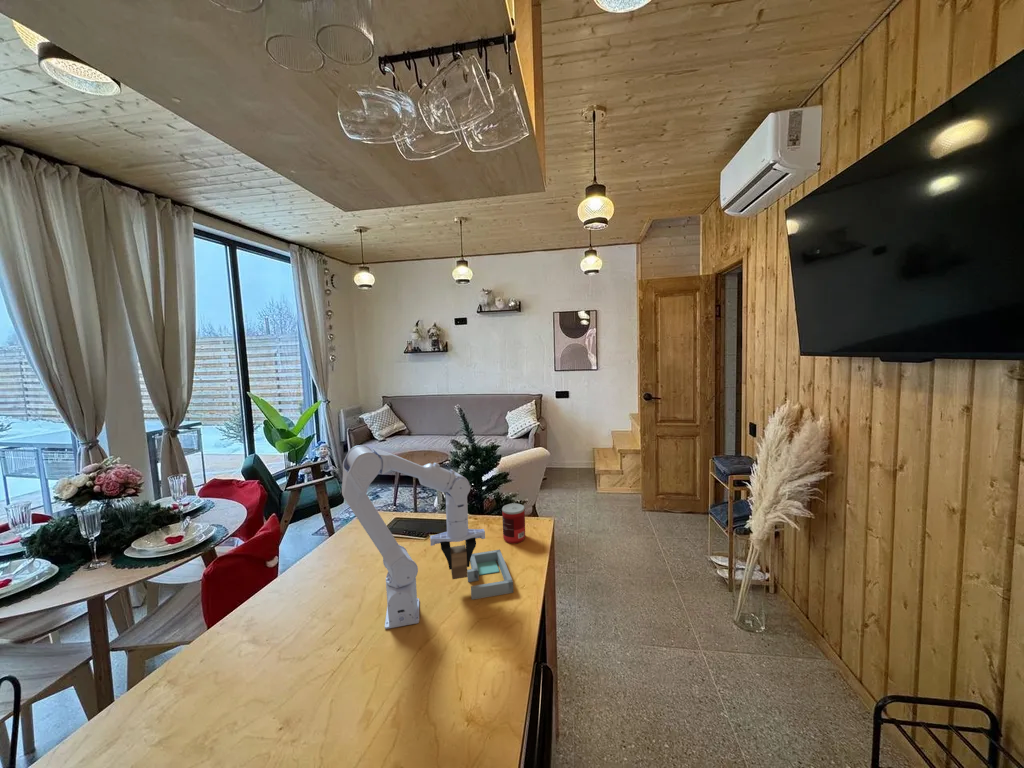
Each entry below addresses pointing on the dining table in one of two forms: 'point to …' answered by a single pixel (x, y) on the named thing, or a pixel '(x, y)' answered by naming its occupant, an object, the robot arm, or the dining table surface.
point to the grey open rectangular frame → (489, 588)
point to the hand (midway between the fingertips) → (459, 566)
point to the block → (459, 562)
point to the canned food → (513, 523)
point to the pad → (487, 568)
